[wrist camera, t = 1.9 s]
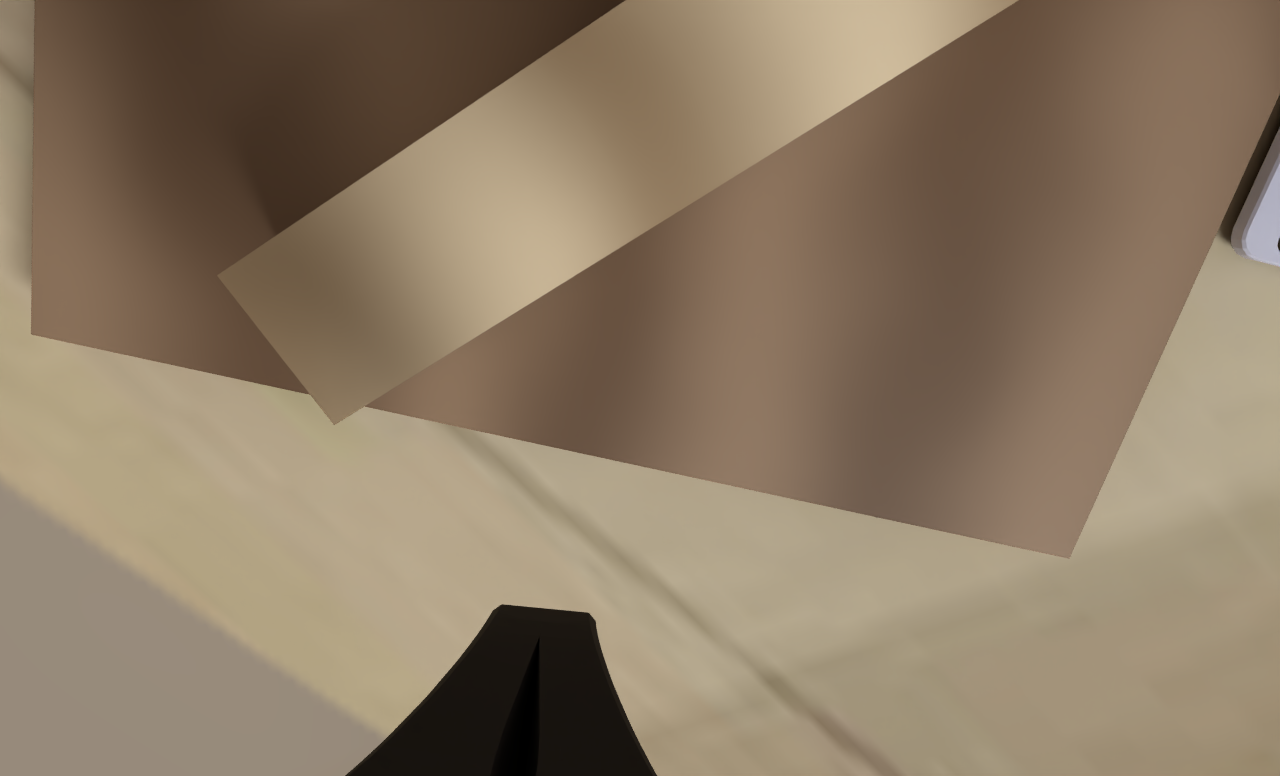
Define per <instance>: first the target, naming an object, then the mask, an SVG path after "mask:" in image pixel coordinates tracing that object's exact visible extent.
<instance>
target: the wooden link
mask: <svg viewBox="0 0 1280 776" xmlns="http://www.w3.org/2000/svg"><path fill="white" fill-rule="evenodd" d="M1017 1H1018V0H625V1H624V2H622V3H621V4H619V5H618V6H616V7H615V8H613V9H612V10H610V11H609V12H607V13H606V14H605V15H603V16H602V17H600V18H599V19H597V20H596V21H594V22H593V23H591V24H590V25H588V26H587V27H585V28H584V29H582V30H581V31H579V32H578V33H576V34H575V35H573V36H572V37H570V38H569V39H567V40H566V41H564V42H563V43H561V44H560V45H558V46H557V47H556V48H554V49H553V50H551V51H550V52H548V53H547V54H545V55H544V56H542V57H541V58H539V59H538V60H536V61H535V62H533V63H532V64H530V65H529V66H527V67H526V68H524V69H523V70H521V71H520V72H518V73H517V74H515V75H514V76H512V77H511V78H509V79H508V80H506V81H505V82H504V83H502V84H501V85H499V86H498V87H496V88H495V89H493V90H492V91H490V92H489V93H487V94H486V95H484V96H483V97H481V98H480V99H478V100H477V101H475V102H474V103H472V104H471V105H469V106H468V107H466V108H465V109H463V110H462V111H460V112H459V113H457V114H456V115H455V116H453V117H452V118H450V119H449V120H447V121H446V122H444V123H443V124H441V125H440V126H438V127H437V128H435V129H434V130H432V131H431V132H429V133H428V134H426V135H425V136H423V137H422V138H420V139H419V140H417V141H416V142H414V143H413V144H411V145H410V146H408V147H407V148H405V149H404V150H403V151H401V152H400V153H398V154H397V155H395V156H394V157H392V158H391V159H389V160H388V161H386V162H385V163H383V164H382V165H380V166H379V167H377V168H376V169H374V170H373V171H371V172H370V173H368V174H367V175H365V176H364V177H362V178H361V179H359V180H358V181H356V182H355V183H354V184H352V185H351V186H349V187H348V188H346V189H345V190H343V191H342V192H340V193H339V194H337V195H336V196H334V197H333V198H331V199H330V200H328V201H327V202H325V203H324V204H322V205H321V206H319V207H318V208H316V209H315V210H313V211H312V212H310V213H309V214H307V215H306V216H304V217H303V218H302V219H300V220H299V221H297V222H296V223H294V224H293V225H291V226H290V227H288V228H287V229H285V230H284V231H282V232H281V233H279V234H278V235H276V236H275V237H273V238H272V239H270V240H269V241H267V242H266V243H264V244H263V245H261V246H260V247H258V248H257V249H255V250H254V251H253V252H251V253H250V254H248V255H247V256H245V257H244V258H242V259H241V260H239V261H238V262H236V263H235V264H233V265H232V266H230V267H229V268H227V269H226V270H224V271H223V272H221V273H220V274H218V275H217V276H218V277H219V279H220V280H221V281H222V283H223V284H224V285H225V286H226V288H227V289H228V290H229V291H230V293H231V294H232V295H233V297H234V298H235V299H236V300H237V302H238V303H239V304H240V306H241V307H242V308H243V309H244V311H245V312H246V313H247V314H248V316H249V317H250V318H251V320H252V321H253V322H254V323H255V325H256V326H257V327H258V329H259V330H260V331H261V332H262V334H263V335H264V336H265V337H266V339H267V340H268V341H269V343H270V344H271V345H272V346H273V348H274V349H275V350H276V352H277V353H278V354H279V355H280V357H281V358H282V359H283V360H284V362H285V363H286V364H287V366H288V367H289V368H290V369H291V371H292V372H293V373H294V374H295V376H296V377H297V378H298V380H299V381H300V382H301V383H302V385H303V386H304V387H305V389H306V390H307V391H308V392H309V394H310V395H311V396H312V397H313V399H314V400H315V401H316V403H317V404H318V405H319V406H320V408H321V409H322V410H323V412H324V413H325V414H326V415H327V417H328V418H329V419H330V420H331V422H332V423H333V424H334V425H335V424H337V423H338V422H340V421H342V420H343V419H345V418H346V417H348V416H350V415H351V414H353V413H354V412H356V411H358V410H359V409H361V408H363V407H364V406H366V405H367V404H369V403H371V402H372V401H374V400H375V399H377V398H379V397H380V396H382V395H383V394H385V393H387V392H388V391H390V390H392V389H393V388H395V387H396V386H398V385H400V384H401V383H403V382H404V381H406V380H408V379H409V378H411V377H412V376H414V375H416V374H417V373H419V372H421V371H422V370H424V369H425V368H427V367H429V366H430V365H432V364H433V363H435V362H437V361H438V360H440V359H441V358H443V357H445V356H446V355H448V354H450V353H451V352H453V351H454V350H456V349H458V348H459V347H461V346H462V345H464V344H466V343H467V342H469V341H471V340H472V339H474V338H475V337H477V336H479V335H480V334H482V333H483V332H485V331H487V330H488V329H490V328H491V327H493V326H495V325H496V324H498V323H500V322H501V321H503V320H504V319H506V318H508V317H509V316H511V315H512V314H514V313H516V312H517V311H519V310H520V309H522V308H524V307H525V306H527V305H529V304H530V303H532V302H533V301H535V300H537V299H538V298H540V297H541V296H543V295H545V294H546V293H548V292H549V291H551V290H553V289H554V288H556V287H558V286H559V285H561V284H562V283H564V282H566V281H567V280H569V279H570V278H572V277H574V276H575V275H577V274H578V273H580V272H582V271H583V270H585V269H587V268H588V267H590V266H591V265H593V264H595V263H596V262H598V261H599V260H601V259H603V258H604V257H606V256H607V255H609V254H611V253H612V252H614V251H616V250H617V249H619V248H620V247H622V246H624V245H625V244H627V243H628V242H630V241H632V240H633V239H635V238H636V237H638V236H640V235H641V234H643V233H645V232H646V231H648V230H649V229H651V228H653V227H654V226H656V225H657V224H659V223H661V222H662V221H664V220H665V219H667V218H669V217H670V216H672V215H674V214H675V213H677V212H678V211H680V210H682V209H683V208H685V207H686V206H688V205H690V204H691V203H693V202H694V201H696V200H698V199H699V198H701V197H703V196H704V195H706V194H707V193H709V192H711V191H712V190H714V189H715V188H717V187H719V186H720V185H722V184H723V183H725V182H727V181H728V180H730V179H732V178H733V177H735V176H736V175H738V174H740V173H741V172H743V171H744V170H746V169H748V168H749V167H751V166H752V165H754V164H756V163H757V162H759V161H761V160H762V159H764V158H765V157H767V156H769V155H770V154H772V153H773V152H775V151H777V150H778V149H780V148H781V147H783V146H785V145H786V144H788V143H790V142H791V141H793V140H794V139H796V138H798V137H799V136H801V135H802V134H804V133H806V132H807V131H809V130H810V129H812V128H814V127H815V126H817V125H819V124H820V123H822V122H823V121H825V120H827V119H828V118H830V117H831V116H833V115H835V114H836V113H838V112H839V111H841V110H843V109H844V108H846V107H848V106H849V105H851V104H852V103H854V102H856V101H857V100H859V99H860V98H862V97H864V96H865V95H867V94H869V93H870V92H872V91H873V90H875V89H877V88H878V87H880V86H881V85H883V84H885V83H886V82H888V81H889V80H891V79H893V78H894V77H896V76H898V75H899V74H901V73H902V72H904V71H906V70H907V69H909V68H910V67H912V66H914V65H915V64H917V63H918V62H920V61H922V60H923V59H925V58H927V57H928V56H930V55H931V54H933V53H935V52H936V51H938V50H939V49H941V48H943V47H944V46H946V45H947V44H949V43H951V42H952V41H954V40H956V39H957V38H959V37H960V36H962V35H964V34H965V33H967V32H968V31H970V30H972V29H973V28H975V27H976V26H978V25H980V24H981V23H983V22H985V21H986V20H988V19H989V18H991V17H993V16H994V15H996V14H997V13H999V12H1001V11H1002V10H1004V9H1005V8H1007V7H1009V6H1010V5H1012V4H1014V3H1015V2H1017Z"/></svg>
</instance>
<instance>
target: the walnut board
mask: <svg viewBox="0 0 1280 776" xmlns="http://www.w3.org/2000/svg"><path fill="white" fill-rule="evenodd" d="M624 1H625V0H35V26H34V117H33V209H32V301H31V334H32V335H36V336H41V337H46V338H50V339H55V340H60V341H64V342H69V343H73V344H78V345H83V346H87V347H92V348H97V349H101V350H106V351H110V352H115V353H120V354H124V355H129V356H134V357H138V358H143V359H148V360H152V361H157V362H161V363H166V364H171V365H175V366H180V367H185V368H189V369H194V370H198V371H203V372H208V373H212V374H217V375H222V376H226V377H231V378H235V379H240V380H245V381H249V382H254V383H259V384H263V385H268V386H272V387H277V388H282V389H286V390H291V391H296V392H300V393H305V394H309V392H308V391H307V390H306V389H305V387H304V386H303V385H302V383H301V382H300V381H299V380H298V378H297V377H296V376H295V374H294V373H293V372H292V371H291V369H290V368H289V367H288V366H287V364H286V363H285V362H284V360H283V359H282V358H281V357H280V355H279V354H278V353H277V352H276V350H275V349H274V348H273V346H272V345H271V344H270V343H269V341H268V340H267V339H266V337H265V336H264V335H263V334H262V332H261V331H260V330H259V329H258V327H257V326H256V325H255V323H254V322H253V321H252V320H251V318H250V317H249V316H248V314H247V313H246V312H245V311H244V309H243V308H242V307H241V306H240V304H239V303H238V302H237V300H236V299H235V298H234V297H233V295H232V294H231V293H230V291H229V290H228V289H227V288H226V286H225V285H224V284H223V283H222V281H221V280H220V279H219V277H218V276H217V275H218V274H220V273H221V272H223V271H224V270H226V269H227V268H229V267H230V266H232V265H233V264H235V263H236V262H238V261H239V260H241V259H242V258H244V257H245V256H247V255H248V254H250V253H251V252H253V251H254V250H255V249H257V248H258V247H260V246H261V245H263V244H264V243H266V242H267V241H269V240H270V239H272V238H273V237H275V236H276V235H278V234H279V233H281V232H282V231H284V230H285V229H287V228H288V227H290V226H291V225H293V224H294V223H296V222H297V221H299V220H300V219H302V218H303V217H304V216H306V215H307V214H309V213H310V212H312V211H313V210H315V209H316V208H318V207H319V206H321V205H322V204H324V203H325V202H327V201H328V200H330V199H331V198H333V197H334V196H336V195H337V194H339V193H340V192H342V191H343V190H345V189H346V188H348V187H349V186H351V185H352V184H354V183H355V182H356V181H358V180H359V179H361V178H362V177H364V176H365V175H367V174H368V173H370V172H371V171H373V170H374V169H376V168H377V167H379V166H380V165H382V164H383V163H385V162H386V161H388V160H389V159H391V158H392V157H394V156H395V155H397V154H398V153H400V152H401V151H403V150H404V149H405V148H407V147H408V146H410V145H411V144H413V143H414V142H416V141H417V140H419V139H420V138H422V137H423V136H425V135H426V134H428V133H429V132H431V131H432V130H434V129H435V128H437V127H438V126H440V125H441V124H443V123H444V122H446V121H447V120H449V119H450V118H452V117H453V116H455V115H456V114H457V113H459V112H460V111H462V110H463V109H465V108H466V107H468V106H469V105H471V104H472V103H474V102H475V101H477V100H478V99H480V98H481V97H483V96H484V95H486V94H487V93H489V92H490V91H492V90H493V89H495V88H496V87H498V86H499V85H501V84H502V83H504V82H505V81H506V80H508V79H509V78H511V77H512V76H514V75H515V74H517V73H518V72H520V71H521V70H523V69H524V68H526V67H527V66H529V65H530V64H532V63H533V62H535V61H536V60H538V59H539V58H541V57H542V56H544V55H545V54H547V53H548V52H550V51H551V50H553V49H554V48H556V47H557V46H558V45H560V44H561V43H563V42H564V41H566V40H567V39H569V38H570V37H572V36H573V35H575V34H576V33H578V32H579V31H581V30H582V29H584V28H585V27H587V26H588V25H590V24H591V23H593V22H594V21H596V20H597V19H599V18H600V17H602V16H603V15H605V14H606V13H607V12H609V11H610V10H612V9H613V8H615V7H616V6H618V5H619V4H621V3H622V2H624ZM1279 95H1280V0H1018V1H1017V2H1015V3H1014V4H1012V5H1010V6H1009V7H1007V8H1005V9H1004V10H1002V11H1001V12H999V13H997V14H996V15H994V16H993V17H991V18H989V19H988V20H986V21H985V22H983V23H981V24H980V25H978V26H976V27H975V28H973V29H972V30H970V31H968V32H967V33H965V34H964V35H962V36H960V37H959V38H957V39H956V40H954V41H952V42H951V43H949V44H947V45H946V46H944V47H943V48H941V49H939V50H938V51H936V52H935V53H933V54H931V55H930V56H928V57H927V58H925V59H923V60H922V61H920V62H918V63H917V64H915V65H914V66H912V67H910V68H909V69H907V70H906V71H904V72H902V73H901V74H899V75H898V76H896V77H894V78H893V79H891V80H889V81H888V82H886V83H885V84H883V85H881V86H880V87H878V88H877V89H875V90H873V91H872V92H870V93H869V94H867V95H865V96H864V97H862V98H860V99H859V100H857V101H856V102H854V103H852V104H851V105H849V106H848V107H846V108H844V109H843V110H841V111H839V112H838V113H836V114H835V115H833V116H831V117H830V118H828V119H827V120H825V121H823V122H822V123H820V124H819V125H817V126H815V127H814V128H812V129H810V130H809V131H807V132H806V133H804V134H802V135H801V136H799V137H798V138H796V139H794V140H793V141H791V142H790V143H788V144H786V145H785V146H783V147H781V148H780V149H778V150H777V151H775V152H773V153H772V154H770V155H769V156H767V157H765V158H764V159H762V160H761V161H759V162H757V163H756V164H754V165H752V166H751V167H749V168H748V169H746V170H744V171H743V172H741V173H740V174H738V175H736V176H735V177H733V178H732V179H730V180H728V181H727V182H725V183H723V184H722V185H720V186H719V187H717V188H715V189H714V190H712V191H711V192H709V193H707V194H706V195H704V196H703V197H701V198H699V199H698V200H696V201H694V202H693V203H691V204H690V205H688V206H686V207H685V208H683V209H682V210H680V211H678V212H677V213H675V214H674V215H672V216H670V217H669V218H667V219H665V220H664V221H662V222H661V223H659V224H657V225H656V226H654V227H653V228H651V229H649V230H648V231H646V232H645V233H643V234H641V235H640V236H638V237H636V238H635V239H633V240H632V241H630V242H628V243H627V244H625V245H624V246H622V247H620V248H619V249H617V250H616V251H614V252H612V253H611V254H609V255H607V256H606V257H604V258H603V259H601V260H599V261H598V262H596V263H595V264H593V265H591V266H590V267H588V268H587V269H585V270H583V271H582V272H580V273H578V274H577V275H575V276H574V277H572V278H570V279H569V280H567V281H566V282H564V283H562V284H561V285H559V286H558V287H556V288H554V289H553V290H551V291H549V292H548V293H546V294H545V295H543V296H541V297H540V298H538V299H537V300H535V301H533V302H532V303H530V304H529V305H527V306H525V307H524V308H522V309H520V310H519V311H517V312H516V313H514V314H512V315H511V316H509V317H508V318H506V319H504V320H503V321H501V322H500V323H498V324H496V325H495V326H493V327H491V328H490V329H488V330H487V331H485V332H483V333H482V334H480V335H479V336H477V337H475V338H474V339H472V340H471V341H469V342H467V343H466V344H464V345H462V346H461V347H459V348H458V349H456V350H454V351H453V352H451V353H450V354H448V355H446V356H445V357H443V358H441V359H440V360H438V361H437V362H435V363H433V364H432V365H430V366H429V367H427V368H425V369H424V370H422V371H421V372H419V373H417V374H416V375H414V376H412V377H411V378H409V379H408V380H406V381H404V382H403V383H401V384H400V385H398V386H396V387H395V388H393V389H392V390H390V391H388V392H387V393H385V394H383V395H382V396H380V397H379V398H377V399H375V400H374V401H372V402H371V403H369V404H367V405H366V406H365V407H370V408H374V409H379V410H384V411H388V412H393V413H397V414H402V415H407V416H411V417H416V418H421V419H425V420H430V421H434V422H439V423H444V424H448V425H453V426H458V427H462V428H467V429H472V430H476V431H481V432H485V433H490V434H495V435H499V436H504V437H509V438H513V439H518V440H522V441H527V442H532V443H536V444H541V445H546V446H550V447H555V448H559V449H564V450H569V451H573V452H578V453H583V454H587V455H592V456H597V457H601V458H606V459H610V460H615V461H620V462H624V463H629V464H634V465H638V466H643V467H647V468H652V469H657V470H661V471H666V472H671V473H675V474H680V475H684V476H689V477H694V478H698V479H703V480H708V481H712V482H717V483H721V484H726V485H731V486H735V487H740V488H745V489H749V490H754V491H759V492H763V493H768V494H772V495H777V496H782V497H786V498H791V499H796V500H800V501H805V502H809V503H814V504H819V505H823V506H828V507H833V508H837V509H842V510H846V511H851V512H856V513H860V514H865V515H870V516H874V517H879V518H883V519H888V520H893V521H897V522H902V523H907V524H911V525H916V526H921V527H925V528H930V529H934V530H939V531H944V532H948V533H953V534H958V535H962V536H967V537H971V538H976V539H981V540H985V541H990V542H995V543H999V544H1004V545H1008V546H1013V547H1018V548H1022V549H1027V550H1032V551H1036V552H1041V553H1045V554H1050V555H1055V556H1059V557H1064V558H1070V556H1071V554H1072V551H1073V549H1074V547H1075V545H1076V543H1077V540H1078V538H1079V536H1080V534H1081V532H1082V529H1083V527H1084V525H1085V523H1086V521H1087V518H1088V516H1089V514H1090V512H1091V510H1092V507H1093V505H1094V503H1095V501H1096V498H1097V496H1098V494H1099V492H1100V490H1101V487H1102V485H1103V483H1104V481H1105V479H1106V476H1107V474H1108V472H1109V470H1110V468H1111V465H1112V463H1113V461H1114V459H1115V457H1116V454H1117V452H1118V450H1119V448H1120V446H1121V443H1122V441H1123V439H1124V437H1125V435H1126V432H1127V430H1128V428H1129V426H1130V423H1131V421H1132V419H1133V417H1134V415H1135V412H1136V410H1137V408H1138V406H1139V404H1140V401H1141V399H1142V397H1143V395H1144V393H1145V390H1146V388H1147V386H1148V384H1149V382H1150V379H1151V377H1152V375H1153V373H1154V371H1155V368H1156V366H1157V364H1158V362H1159V359H1160V357H1161V355H1162V353H1163V351H1164V348H1165V346H1166V344H1167V342H1168V340H1169V337H1170V335H1171V333H1172V331H1173V329H1174V326H1175V324H1176V322H1177V320H1178V318H1179V315H1180V313H1181V311H1182V309H1183V307H1184V304H1185V302H1186V300H1187V298H1188V296H1189V293H1190V291H1191V289H1192V287H1193V284H1194V282H1195V280H1196V278H1197V276H1198V273H1199V271H1200V269H1201V267H1202V265H1203V262H1204V260H1205V258H1206V256H1207V254H1208V251H1209V249H1210V247H1211V245H1212V243H1213V240H1214V238H1215V236H1216V234H1217V232H1218V229H1219V227H1220V225H1221V223H1222V220H1223V218H1224V216H1225V214H1226V212H1227V209H1228V207H1229V205H1230V203H1231V201H1232V198H1233V196H1234V194H1235V192H1236V190H1237V187H1238V185H1239V183H1240V181H1241V179H1242V176H1243V174H1244V172H1245V170H1246V168H1247V165H1248V163H1249V161H1250V159H1251V157H1252V154H1253V152H1254V150H1255V148H1256V145H1257V143H1258V141H1259V139H1260V137H1261V134H1262V132H1263V130H1264V128H1265V126H1266V123H1267V121H1268V119H1269V117H1270V115H1271V112H1272V110H1273V108H1274V106H1275V104H1276V101H1277V99H1278V97H1279Z"/></svg>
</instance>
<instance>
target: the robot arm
mask: <svg viewBox="0 0 1280 776" xmlns="http://www.w3.org/2000/svg"><path fill="white" fill-rule="evenodd" d="M1279 238H1280V127H1279V130H1278V132H1277V134H1276V136H1275V138H1274V141H1273V143H1272V145H1271V147H1270V149H1269V151H1268V154H1267V156H1266V158H1265V160H1264V162H1263V165H1262V167H1261V169H1260V171H1259V173H1258V175H1257V178H1256V180H1255V182H1254V184H1253V186H1252V189H1251V191H1250V193H1249V195H1248V197H1247V199H1246V202H1245V204H1244V206H1243V208H1242V210H1241V213H1240V215H1239V217H1238V219H1237V221H1236V223H1235V226H1234V228H1233V231H1232V235H1231V243H1232V248H1233V249H1234V250H1235V252H1236V253H1237V254H1238V255H1240V256H1242V257H1244V258H1247V259H1251V260H1255V261H1259V262H1263V263H1267V264H1271V265H1275V266H1278V267H1280V250H1279V249H1278V246H1277V245H1278V240H1279ZM346 776H657V775H656V773H655V771H654V769H653V768H652V766H651V764H650V762H649V760H648V758H647V756H646V754H645V752H644V751H643V749H642V747H641V745H640V743H639V741H638V739H637V737H636V735H635V733H634V731H633V729H632V727H631V724H630V722H629V720H628V718H627V716H626V713H625V711H624V709H623V706H622V704H621V702H620V699H619V697H618V695H617V692H616V690H615V688H614V685H613V682H612V680H611V677H610V674H609V672H608V669H607V666H606V663H605V660H604V657H603V653H602V650H601V647H600V643H599V639H598V634H597V629H596V621H595V620H594V619H593V617H592V616H591V615H590V614H589V613H585V612H575V611H564V610H554V609H544V608H533V607H523V606H513V605H500V606H499V607H497V608H496V609H495V610H493V611H492V613H491V615H490V616H489V618H488V620H487V621H486V623H485V624H484V626H483V627H482V629H481V630H480V632H479V633H478V634H477V636H476V637H475V639H474V640H473V641H472V643H471V644H470V645H469V647H468V648H467V649H466V650H465V652H464V653H463V654H462V656H461V657H460V658H459V659H458V661H457V662H456V663H455V664H454V665H453V667H452V668H451V669H450V670H449V671H448V672H447V674H446V675H445V676H444V677H443V678H442V679H441V681H440V682H439V683H438V684H437V685H436V687H435V688H434V689H433V690H432V691H431V692H430V693H429V695H428V696H427V697H426V698H425V699H424V700H423V701H422V702H421V703H420V704H419V705H418V706H417V707H416V708H415V709H414V710H413V712H412V713H411V714H410V715H409V716H408V717H407V718H406V719H405V720H404V721H403V722H402V723H401V724H400V725H399V726H398V727H397V728H396V729H395V730H394V731H393V732H392V733H391V734H390V735H389V736H388V737H387V738H386V739H385V740H384V741H383V742H382V743H381V744H380V745H379V746H378V747H377V748H376V749H375V750H373V751H372V752H371V754H369V755H368V756H367V757H366V758H365V759H364V760H363V761H362V762H360V763H359V764H358V765H357V766H356V767H355V768H354V769H353V770H351V771H350V772H349V773H348V774H347V775H346Z"/></svg>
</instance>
